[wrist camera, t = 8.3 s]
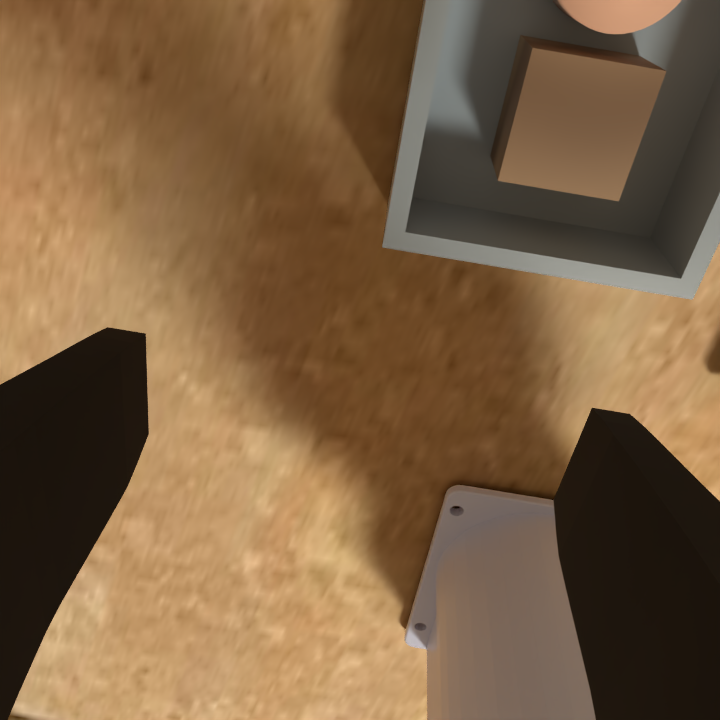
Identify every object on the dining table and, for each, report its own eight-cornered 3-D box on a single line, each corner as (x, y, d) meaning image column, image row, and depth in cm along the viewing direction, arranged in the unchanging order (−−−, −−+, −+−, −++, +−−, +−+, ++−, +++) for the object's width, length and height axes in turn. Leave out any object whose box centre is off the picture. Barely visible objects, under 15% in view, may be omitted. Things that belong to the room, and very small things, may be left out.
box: (655, 249, 20) (692, 299, 17) (387, 204, 20) (382, 247, 17) (833, -179, 14) (926, -203, 12) (466, -244, 14) (476, -285, 12)
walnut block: (599, 174, 18) (619, 201, 16) (490, 155, 18) (497, 180, 16) (639, 55, 17) (666, 70, 15) (520, 35, 17) (532, 48, 15)
